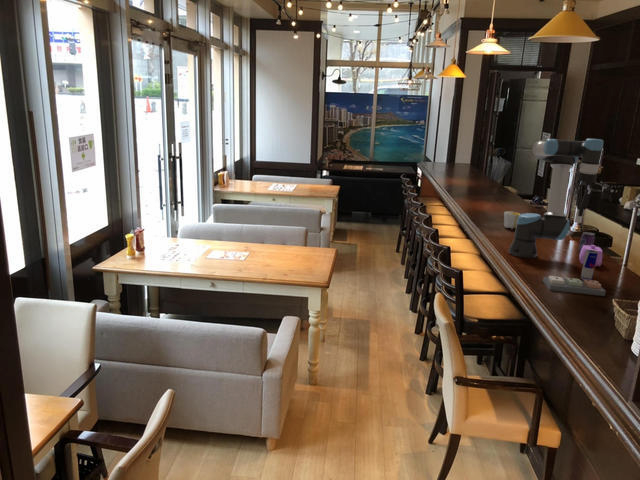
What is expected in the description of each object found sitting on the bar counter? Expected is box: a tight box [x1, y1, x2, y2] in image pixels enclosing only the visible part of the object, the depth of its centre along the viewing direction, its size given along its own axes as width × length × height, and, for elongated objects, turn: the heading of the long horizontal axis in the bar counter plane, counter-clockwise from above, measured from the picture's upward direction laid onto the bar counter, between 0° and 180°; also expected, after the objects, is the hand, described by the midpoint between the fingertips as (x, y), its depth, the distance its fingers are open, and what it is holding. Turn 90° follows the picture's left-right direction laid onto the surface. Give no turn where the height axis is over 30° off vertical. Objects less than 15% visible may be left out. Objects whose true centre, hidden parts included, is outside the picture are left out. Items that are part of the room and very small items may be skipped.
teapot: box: [578, 245, 603, 267], centre depth 283 cm, size 18×10×10 cm, turn 162°
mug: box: [503, 210, 521, 230], centre depth 351 cm, size 14×10×10 cm
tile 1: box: [547, 275, 565, 285], centre depth 242 cm, size 6×6×3 cm
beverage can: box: [577, 231, 596, 253], centre depth 301 cm, size 7×7×12 cm
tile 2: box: [565, 277, 583, 287], centre depth 241 cm, size 6×6×3 cm
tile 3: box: [583, 279, 602, 289], centre depth 240 cm, size 6×6×3 cm
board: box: [542, 276, 607, 297], centre depth 241 cm, size 12×24×2 cm, turn 81°
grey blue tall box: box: [580, 250, 598, 281], centre depth 253 cm, size 5×5×15 cm
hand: (577, 222), depth 244 cm, fingers closed
